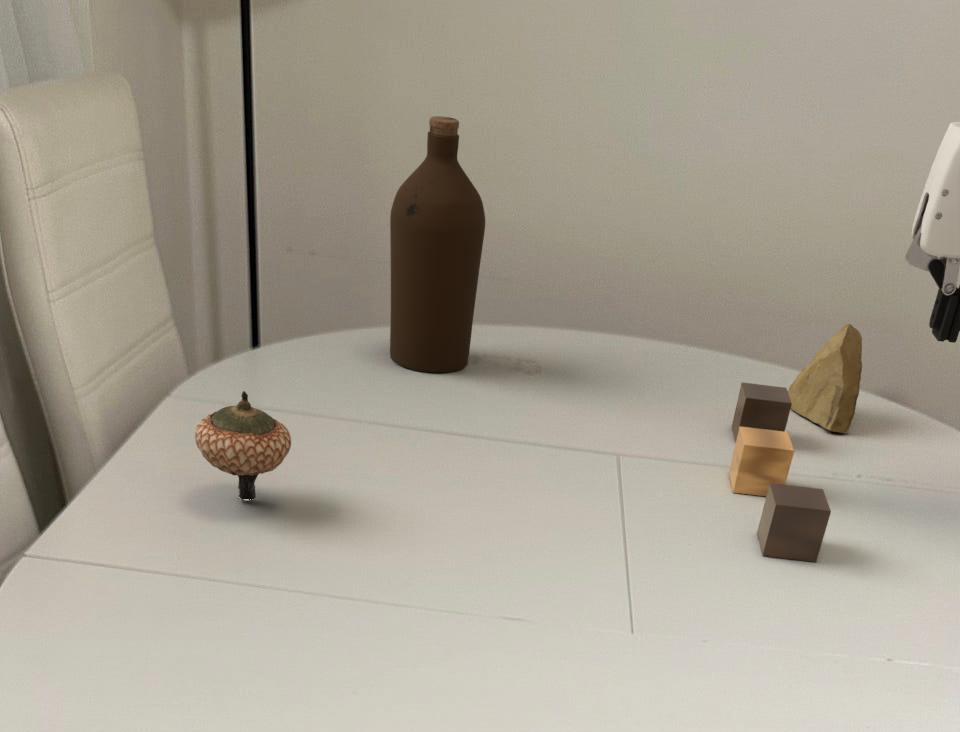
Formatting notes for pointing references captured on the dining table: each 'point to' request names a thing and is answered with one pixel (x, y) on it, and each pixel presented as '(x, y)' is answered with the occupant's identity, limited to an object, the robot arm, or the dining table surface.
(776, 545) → the walnut block
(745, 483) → the maple block
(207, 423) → the acorn
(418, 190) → the olive oil
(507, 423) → the dining table surface
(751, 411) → the walnut block
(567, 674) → the dining table surface
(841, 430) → the rock
